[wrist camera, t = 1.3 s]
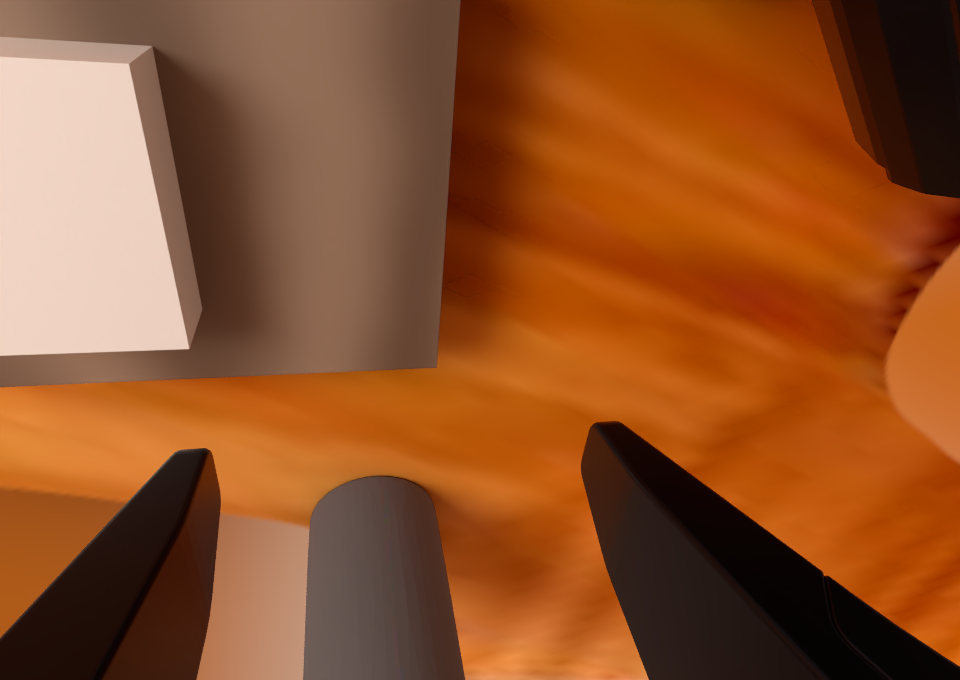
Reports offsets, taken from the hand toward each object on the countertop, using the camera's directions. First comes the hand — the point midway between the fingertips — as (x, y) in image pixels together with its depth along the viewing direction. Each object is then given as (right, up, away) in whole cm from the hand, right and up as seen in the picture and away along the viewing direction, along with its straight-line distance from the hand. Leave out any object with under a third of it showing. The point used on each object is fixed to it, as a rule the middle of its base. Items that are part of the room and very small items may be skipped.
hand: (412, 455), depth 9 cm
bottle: (-4, -7, +20) cm, 22 cm away
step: (-7, +7, +9) cm, 14 cm away
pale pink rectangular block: (-9, +5, +6) cm, 12 cm away
